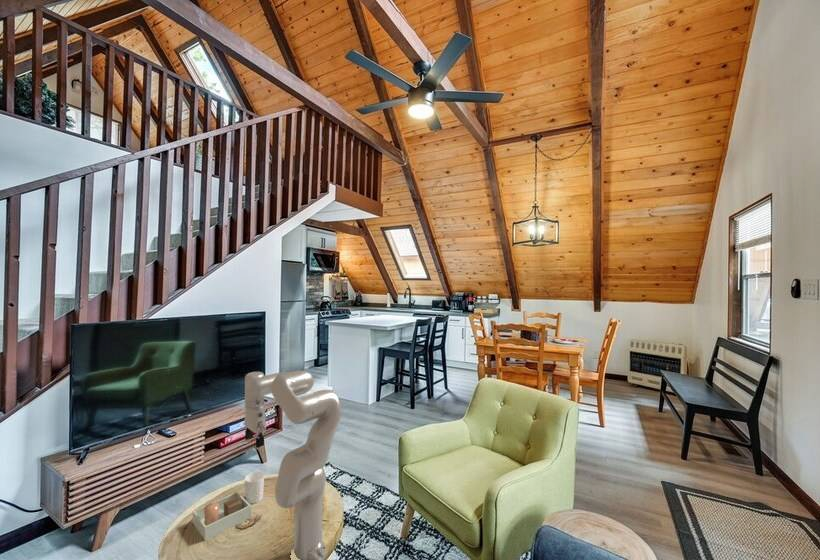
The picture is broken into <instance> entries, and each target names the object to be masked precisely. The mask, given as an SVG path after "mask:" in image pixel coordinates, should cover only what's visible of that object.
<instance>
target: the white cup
mask: <svg viewBox="0 0 820 560" xmlns="http://www.w3.org/2000/svg"><path fill="white" fill-rule="evenodd" d="M264 487H265V473H264V472H262V471H254V472H251V473H248V474H247V475H246V476H245V477H244V490H245V500H246V501H247V502H248V503H249V504H250V505H253V504H257V503H259V502H261V501H262V500H263V498H264V490H265V489H264Z"/></svg>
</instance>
